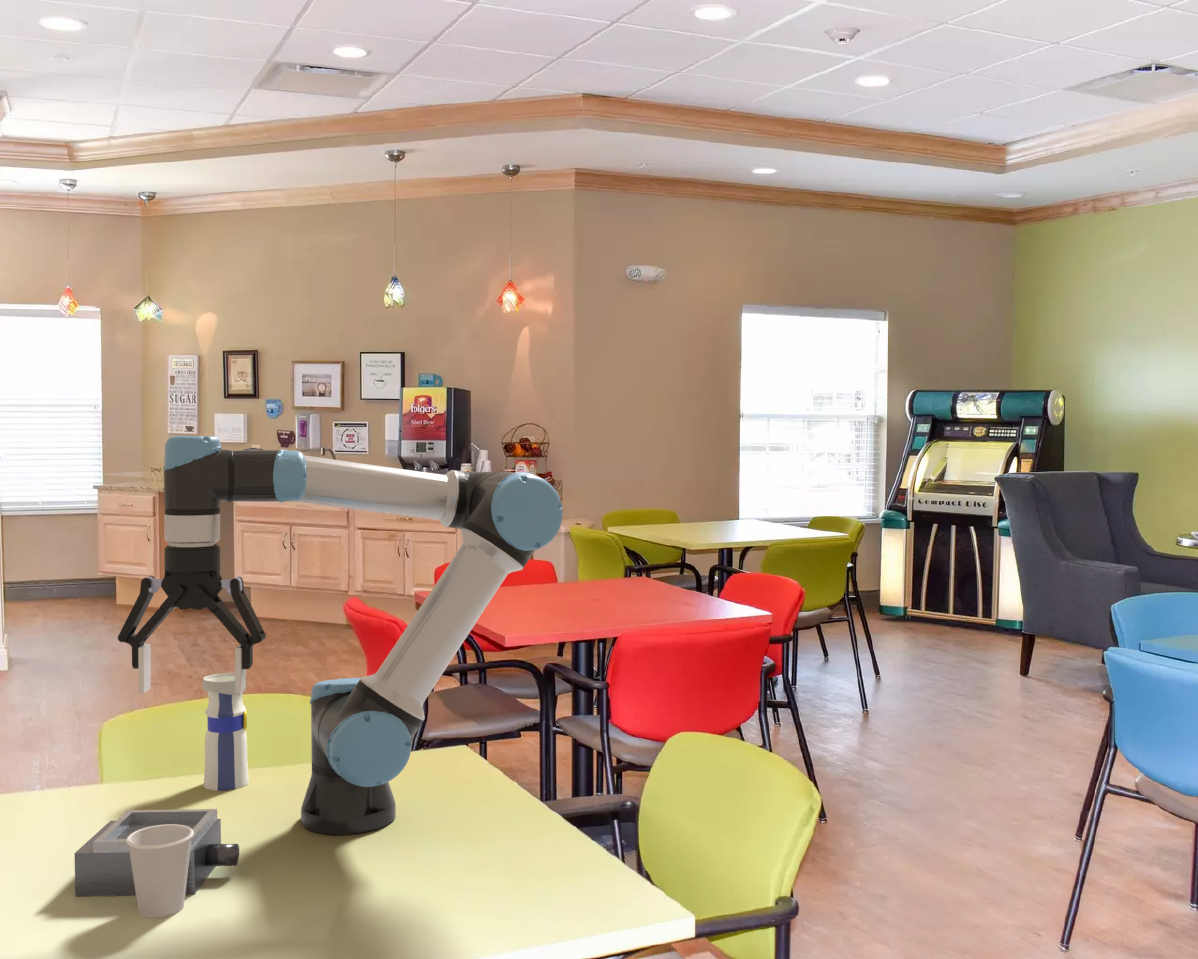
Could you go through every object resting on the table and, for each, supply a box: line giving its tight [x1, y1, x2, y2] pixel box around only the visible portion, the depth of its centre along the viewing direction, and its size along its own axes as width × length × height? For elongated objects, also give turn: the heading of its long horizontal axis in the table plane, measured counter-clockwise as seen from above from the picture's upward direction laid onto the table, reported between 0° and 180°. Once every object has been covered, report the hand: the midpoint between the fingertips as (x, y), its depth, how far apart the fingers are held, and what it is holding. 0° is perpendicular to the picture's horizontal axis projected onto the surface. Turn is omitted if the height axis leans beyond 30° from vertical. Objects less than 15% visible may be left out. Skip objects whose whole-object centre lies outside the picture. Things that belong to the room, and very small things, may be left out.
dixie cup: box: [126, 824, 194, 919], centre depth 151 cm, size 8×8×10 cm
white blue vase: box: [201, 672, 250, 792], centre depth 204 cm, size 8×9×25 cm
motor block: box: [74, 808, 240, 898], centre depth 162 cm, size 20×13×8 cm, turn 93°
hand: (192, 691), depth 163 cm, fingers open, 13 cm apart
